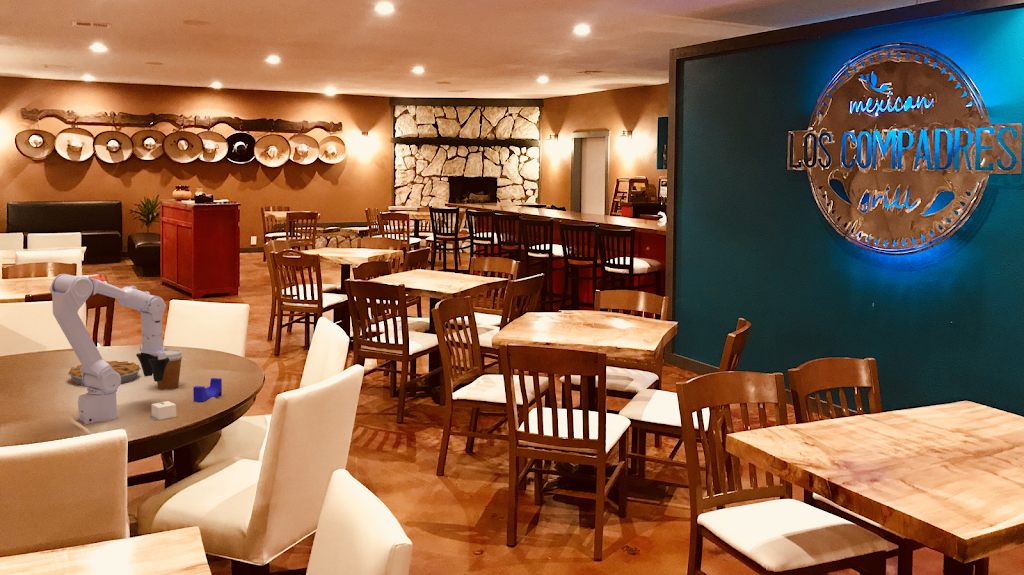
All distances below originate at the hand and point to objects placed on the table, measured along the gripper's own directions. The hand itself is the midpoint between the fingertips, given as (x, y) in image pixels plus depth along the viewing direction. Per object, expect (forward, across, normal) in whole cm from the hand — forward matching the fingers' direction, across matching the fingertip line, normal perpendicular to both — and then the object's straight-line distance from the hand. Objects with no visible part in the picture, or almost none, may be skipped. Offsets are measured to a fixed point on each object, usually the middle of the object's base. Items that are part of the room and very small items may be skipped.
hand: (153, 378), depth 244 cm
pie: (+10, +44, -1) cm, 45 cm away
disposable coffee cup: (+10, +21, -13) cm, 26 cm away
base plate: (+9, -14, +2) cm, 17 cm away
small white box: (+8, -14, +2) cm, 16 cm away
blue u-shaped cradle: (+10, -1, -16) cm, 19 cm away
